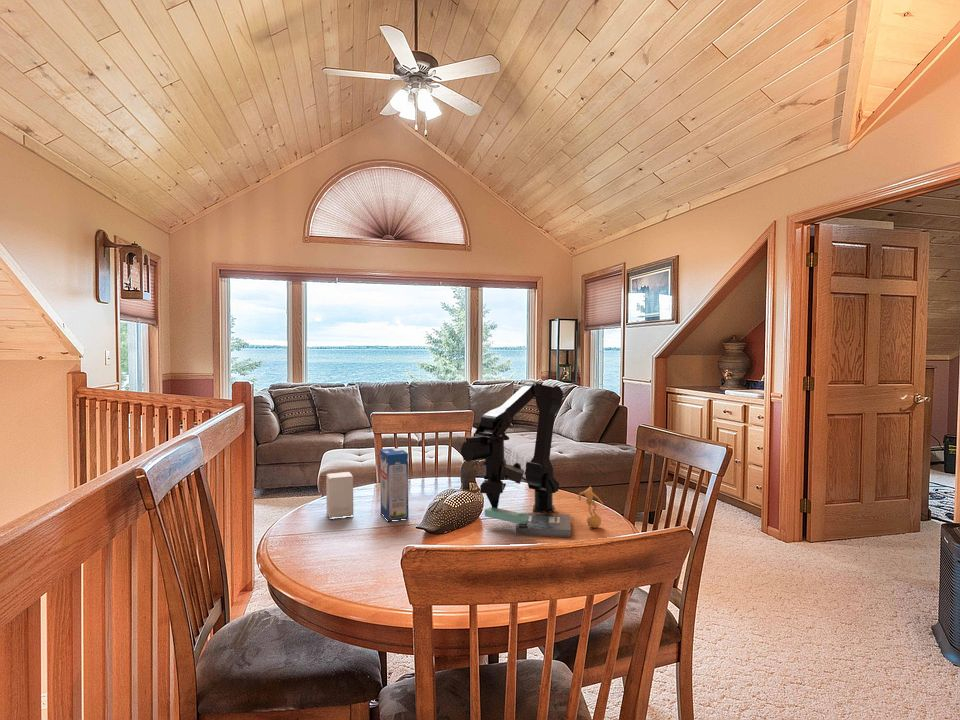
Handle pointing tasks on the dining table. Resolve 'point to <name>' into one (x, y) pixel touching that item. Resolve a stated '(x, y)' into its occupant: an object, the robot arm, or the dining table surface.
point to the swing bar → (506, 515)
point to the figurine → (593, 518)
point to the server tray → (545, 525)
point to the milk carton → (394, 483)
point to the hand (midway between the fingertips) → (495, 509)
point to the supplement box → (339, 494)
